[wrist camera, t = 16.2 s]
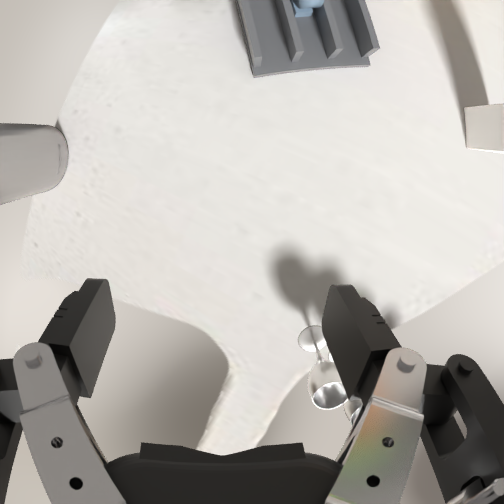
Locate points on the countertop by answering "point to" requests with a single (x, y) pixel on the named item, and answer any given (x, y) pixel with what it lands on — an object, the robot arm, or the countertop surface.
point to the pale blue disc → (305, 7)
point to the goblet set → (326, 377)
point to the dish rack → (306, 36)
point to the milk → (485, 128)
